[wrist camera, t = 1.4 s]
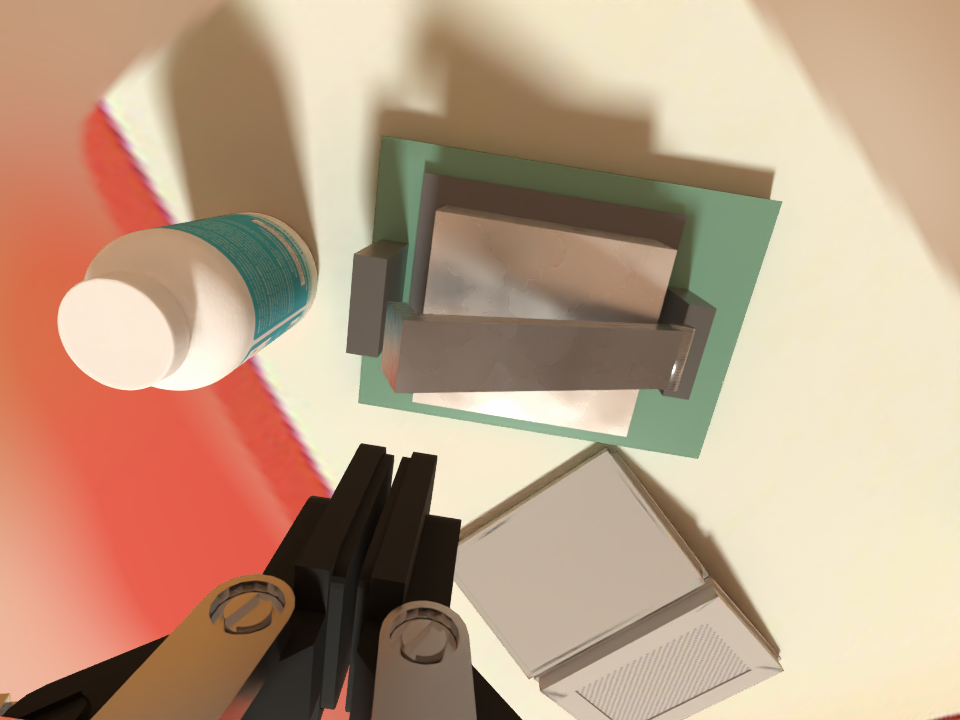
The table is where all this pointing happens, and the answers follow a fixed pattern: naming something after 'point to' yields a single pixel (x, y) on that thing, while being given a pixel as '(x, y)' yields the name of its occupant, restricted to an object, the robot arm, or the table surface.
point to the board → (695, 265)
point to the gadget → (609, 601)
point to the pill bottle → (187, 301)
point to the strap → (528, 353)
